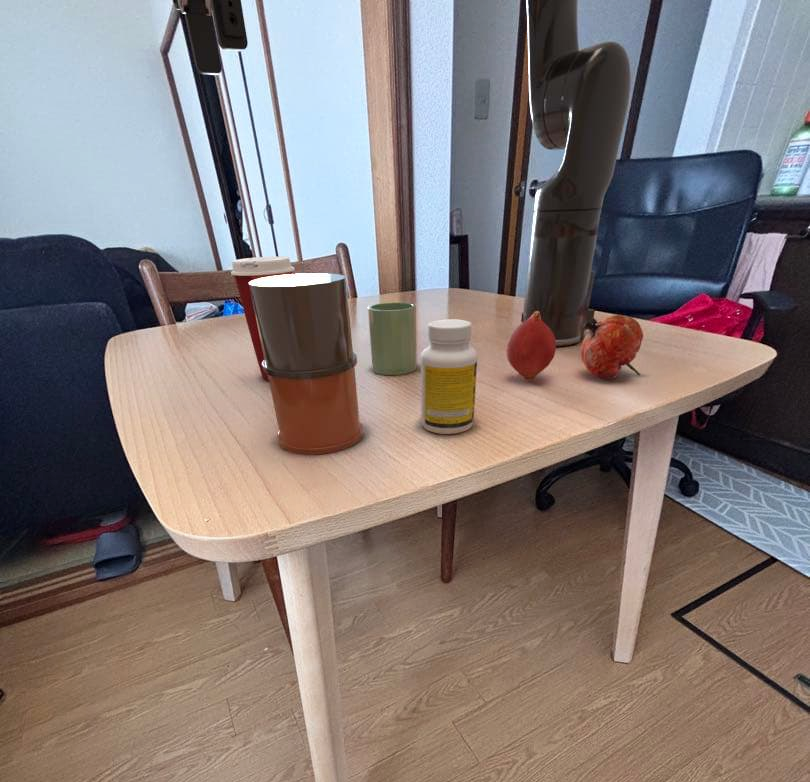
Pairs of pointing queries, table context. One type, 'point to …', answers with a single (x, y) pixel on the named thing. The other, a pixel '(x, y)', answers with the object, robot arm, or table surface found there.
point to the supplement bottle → (448, 378)
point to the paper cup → (244, 275)
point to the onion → (531, 347)
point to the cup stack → (309, 360)
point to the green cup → (393, 337)
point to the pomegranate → (611, 345)
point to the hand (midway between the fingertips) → (221, 62)
